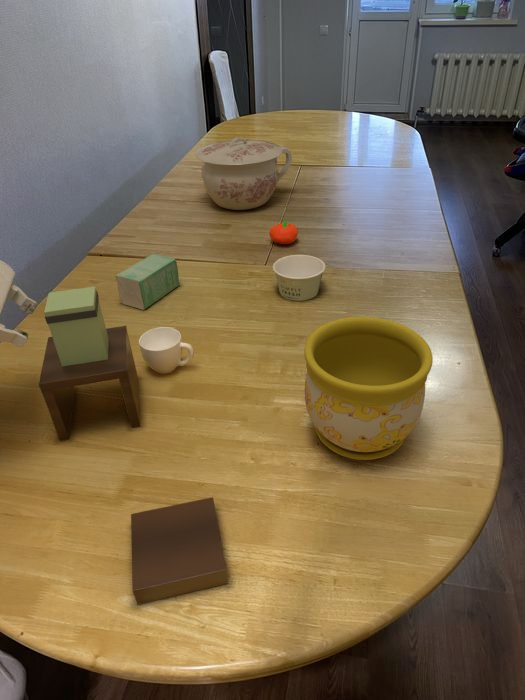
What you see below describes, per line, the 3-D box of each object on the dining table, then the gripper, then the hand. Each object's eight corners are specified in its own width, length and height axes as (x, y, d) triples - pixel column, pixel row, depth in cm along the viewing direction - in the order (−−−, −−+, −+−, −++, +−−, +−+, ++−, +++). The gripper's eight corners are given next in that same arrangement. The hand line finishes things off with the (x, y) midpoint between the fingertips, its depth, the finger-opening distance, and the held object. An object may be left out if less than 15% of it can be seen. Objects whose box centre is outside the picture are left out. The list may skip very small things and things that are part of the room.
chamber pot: (186, 214, 164) (178, 147, 152) (219, 187, 185) (214, 125, 173) (270, 222, 157) (268, 151, 145) (294, 192, 178) (294, 128, 166)
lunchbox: (108, 360, 81) (94, 305, 76) (61, 367, 80) (43, 312, 74) (109, 338, 86) (95, 285, 81) (64, 345, 85) (47, 292, 79)
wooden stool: (140, 426, 86) (126, 369, 79) (59, 441, 84) (38, 384, 77) (138, 379, 97) (126, 325, 90) (66, 391, 94) (48, 337, 87)
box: (181, 284, 126) (176, 256, 122) (145, 311, 117) (139, 281, 112) (157, 279, 129) (152, 251, 125) (120, 304, 120) (113, 275, 116)
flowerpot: (438, 430, 83) (457, 347, 73) (371, 495, 73) (383, 409, 63) (349, 381, 94) (355, 303, 84) (280, 433, 84) (278, 351, 74)
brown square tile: (228, 583, 63) (226, 569, 61) (137, 605, 61) (132, 591, 60) (215, 510, 72) (213, 496, 70) (134, 527, 70) (130, 513, 68)
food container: (267, 300, 119) (266, 274, 115) (281, 276, 128) (280, 252, 124) (318, 306, 115) (319, 280, 112) (329, 281, 125) (330, 257, 121)
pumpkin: (269, 237, 147) (269, 216, 144) (297, 237, 147) (297, 215, 143) (269, 248, 142) (268, 226, 138) (298, 248, 141) (298, 225, 137)
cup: (153, 353, 103) (147, 325, 99) (201, 357, 101) (197, 329, 97) (138, 378, 97) (132, 348, 93) (189, 382, 95) (185, 353, 91)
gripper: (-78, 293, 62) (32, 348, 69) (-36, 230, 78) (49, 279, 85) (-102, 330, 64) (7, 379, 71) (-56, 261, 80) (28, 306, 87)
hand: (30, 324), depth 78 cm, fingers open, 8 cm apart
